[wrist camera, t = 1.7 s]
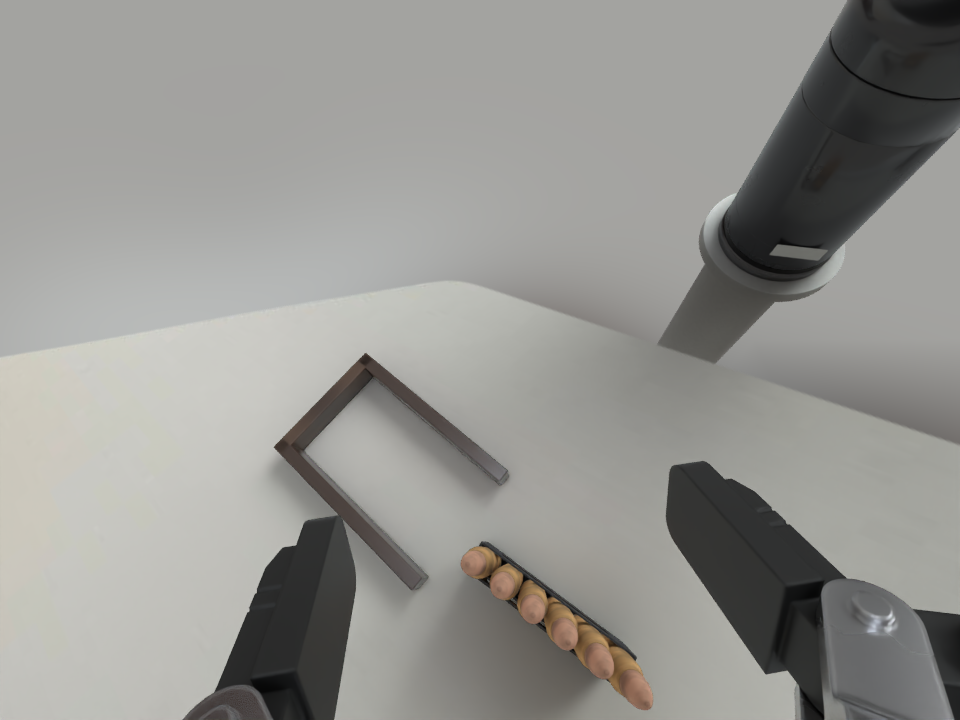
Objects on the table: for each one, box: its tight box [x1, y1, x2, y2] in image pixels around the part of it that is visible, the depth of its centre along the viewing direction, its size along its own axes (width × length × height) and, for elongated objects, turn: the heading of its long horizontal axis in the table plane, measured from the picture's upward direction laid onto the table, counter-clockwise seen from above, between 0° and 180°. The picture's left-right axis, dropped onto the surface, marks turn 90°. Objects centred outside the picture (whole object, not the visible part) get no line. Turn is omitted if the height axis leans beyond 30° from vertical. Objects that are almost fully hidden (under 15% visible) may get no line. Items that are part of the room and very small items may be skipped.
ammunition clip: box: [461, 541, 653, 710], centre depth 24 cm, size 11×2×12 cm, turn 55°
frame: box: [274, 353, 509, 590], centre depth 34 cm, size 10×15×2 cm, turn 50°
